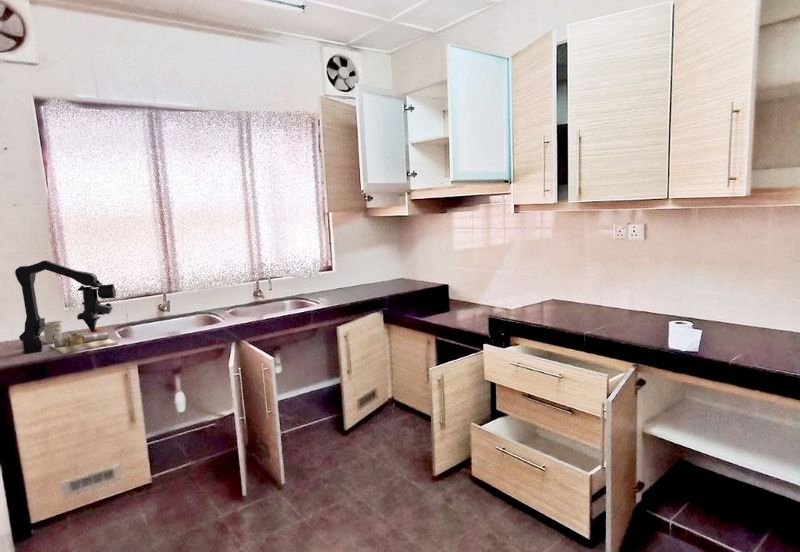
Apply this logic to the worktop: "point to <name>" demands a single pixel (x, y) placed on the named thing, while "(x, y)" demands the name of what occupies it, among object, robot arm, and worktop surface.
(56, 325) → the mug
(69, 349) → the valve board
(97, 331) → the valve lever
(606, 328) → the worktop surface
